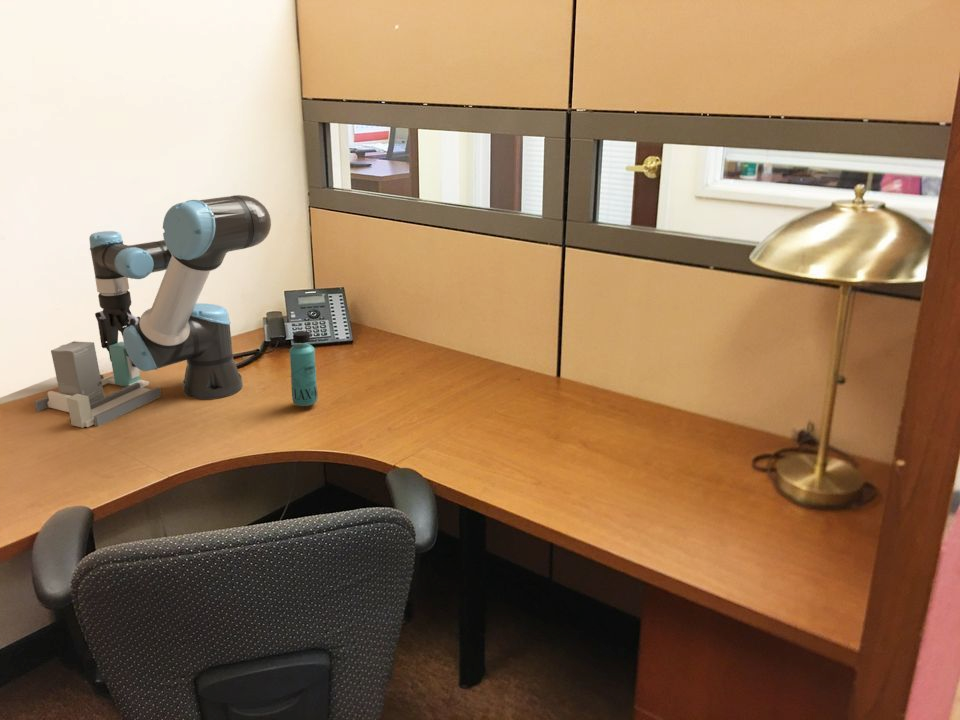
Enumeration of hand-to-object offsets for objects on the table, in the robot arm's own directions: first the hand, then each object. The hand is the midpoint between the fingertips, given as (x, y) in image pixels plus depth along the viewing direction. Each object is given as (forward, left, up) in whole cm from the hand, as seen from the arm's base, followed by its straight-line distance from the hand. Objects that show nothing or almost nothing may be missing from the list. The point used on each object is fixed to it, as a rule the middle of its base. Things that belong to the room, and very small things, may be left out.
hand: (126, 374), depth 205 cm
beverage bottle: (-51, -9, -3) cm, 52 cm away
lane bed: (-3, +12, -3) cm, 13 cm away
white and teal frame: (0, +9, -2) cm, 9 cm away
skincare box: (0, +14, -3) cm, 15 cm away
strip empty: (-10, +14, -2) cm, 17 cm away
